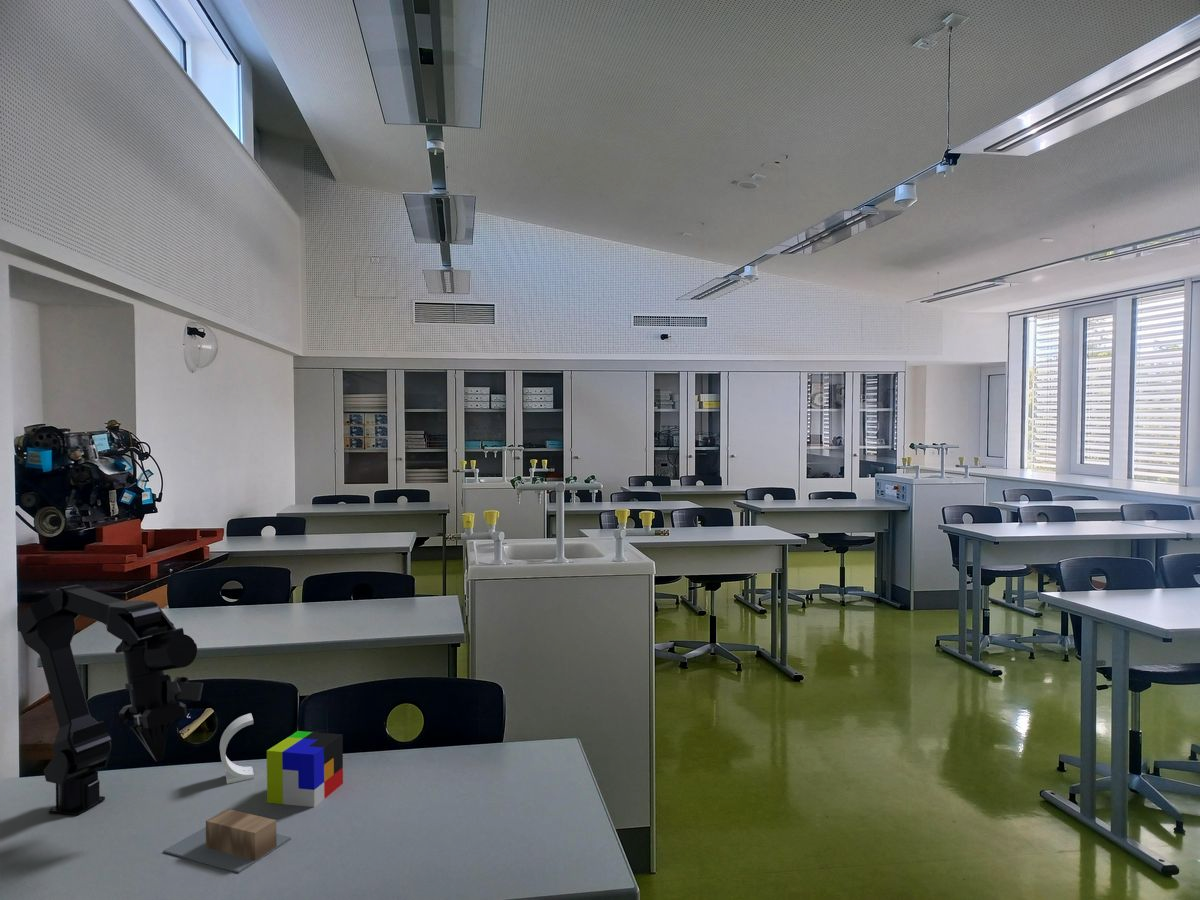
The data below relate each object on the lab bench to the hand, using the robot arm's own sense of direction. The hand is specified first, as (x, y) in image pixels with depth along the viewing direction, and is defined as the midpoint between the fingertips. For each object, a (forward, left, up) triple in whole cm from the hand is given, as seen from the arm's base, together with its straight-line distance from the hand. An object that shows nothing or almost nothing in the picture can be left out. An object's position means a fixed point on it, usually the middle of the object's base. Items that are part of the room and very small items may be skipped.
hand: (159, 760), depth 133 cm
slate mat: (+16, -3, -12) cm, 20 cm away
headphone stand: (0, +21, -12) cm, 24 cm away
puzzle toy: (+18, +17, -12) cm, 28 cm away
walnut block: (+13, -3, -10) cm, 17 cm away
